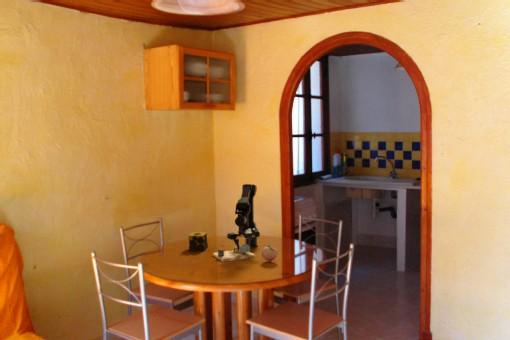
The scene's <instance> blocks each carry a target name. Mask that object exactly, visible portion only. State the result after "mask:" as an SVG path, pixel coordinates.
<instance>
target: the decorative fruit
mask: <svg viewBox="0 0 510 340" xmlns="http://www.w3.org/2000/svg"><path fill="white" fill-rule="evenodd" d="M278 255H279V253H278V249H277V248H275V246H271V245H270V244H266V245H265V247H263V248H262V249H261V257H262V258H263V259H264V260H266V261H268V262H270V263H271V262H272V261H275V259H277V256H278Z"/></svg>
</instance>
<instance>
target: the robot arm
mask: <svg viewBox="0 0 510 340" xmlns="http://www.w3.org/2000/svg"><path fill="white" fill-rule="evenodd" d="M241 188H242V191H241V196H240V198H239V199H238V200H237V202H236V203H235V211H234V214H235V215H237V216H236V218H235V220H234V224H235V225H236V226H237V227H238V230H237V233H235V232H228V233H227V234H226V237H227V239H228V240H230V241H233V242H234V246H236V247H237V249H238V250H239V245H240V242H239V241H240V239H239V238H241V237H243V238H245V242H244V244H245V245H249V246H250V249H251V248H257V247H259V246H258V242H257V240H258V238H259V237H261V233H260V231H259V229H258V227H257V224H256V221H255V219H254V218H255V216H254V215H255V213H254V212H255V211H254V210H255V209H254V207H255V206H254V198H255V196H256V195H257V192H258V190H257V189H258V187H257V185H256V184H250V183H244V184H242V186H241Z"/></svg>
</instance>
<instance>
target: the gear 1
mask: <svg viewBox="0 0 510 340" xmlns="http://www.w3.org/2000/svg"><path fill="white" fill-rule="evenodd" d="M232 249H233V252H235V253H241V252H239V251H238V249H237V247H236V245H234V246H233V248H232Z"/></svg>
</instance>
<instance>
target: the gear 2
mask: <svg viewBox="0 0 510 340" xmlns="http://www.w3.org/2000/svg"><path fill="white" fill-rule="evenodd" d="M238 251H239V252H243V253H245V252H251V248H250V246H249V245H245V243H244V244H239V250H238Z"/></svg>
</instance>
